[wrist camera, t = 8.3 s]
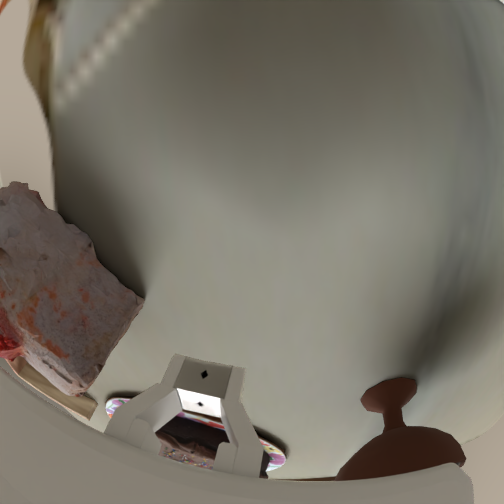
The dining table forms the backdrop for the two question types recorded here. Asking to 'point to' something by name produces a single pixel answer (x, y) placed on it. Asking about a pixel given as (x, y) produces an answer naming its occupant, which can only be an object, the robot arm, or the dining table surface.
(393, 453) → the ice cream bowl
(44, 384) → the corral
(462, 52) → the dining table surface
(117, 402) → the chocolate cake
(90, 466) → the robot arm
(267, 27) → the dining table surface
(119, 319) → the food item
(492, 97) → the dining table surface
